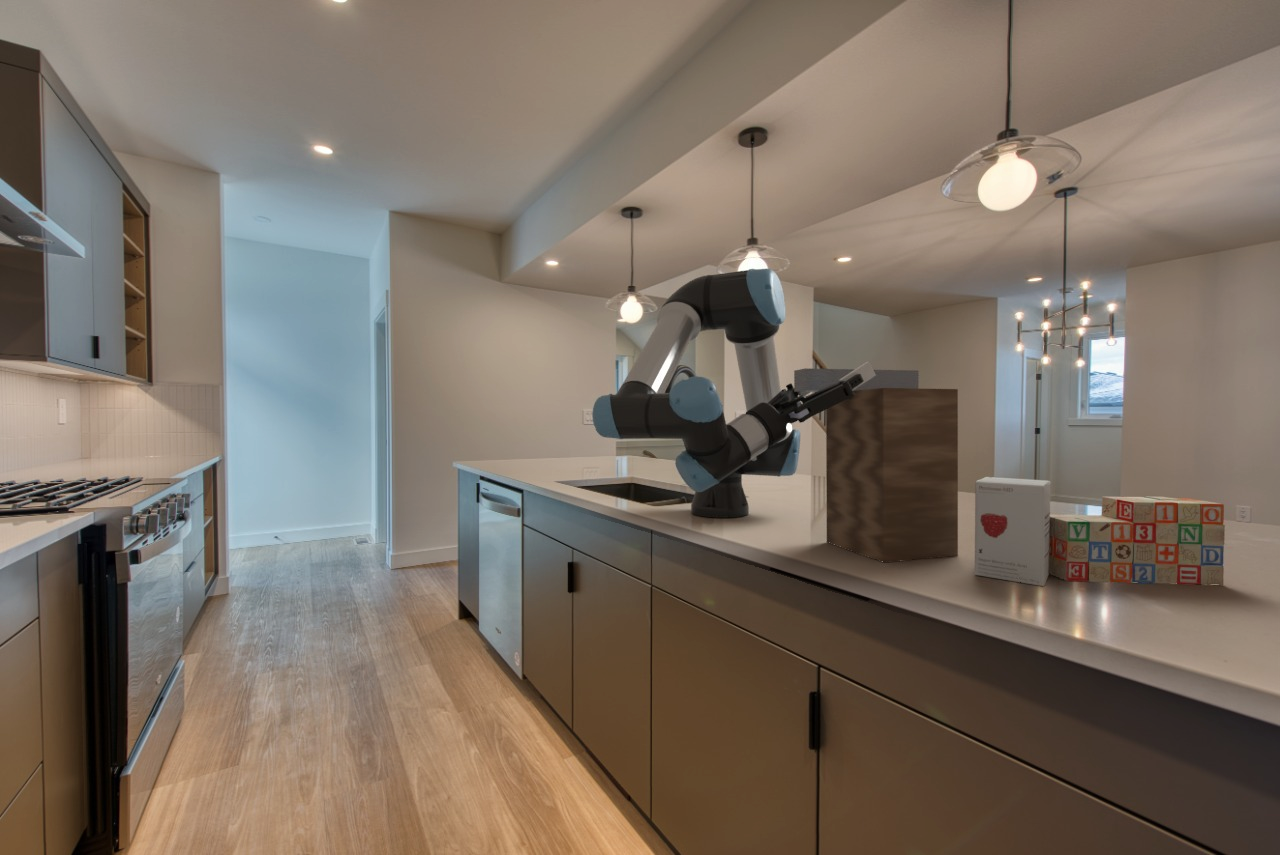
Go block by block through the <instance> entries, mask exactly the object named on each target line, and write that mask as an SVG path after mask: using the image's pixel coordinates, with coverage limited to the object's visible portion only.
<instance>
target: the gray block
mask: <svg viewBox="0 0 1280 855" xmlns="http://www.w3.org/2000/svg"><path fill="white" fill-rule="evenodd" d="M855 369H856V368H854V369H853V368H851V369H848V368H800V369H796V370H793V372H794V374H793V375H794V376H793V377H794V378H793V383H794V384H793V387H794V392H810V393H815V392H817V391H820V390H822V389H824V388H827V387H829V386H831V385H834V384H836V383H838V382H839V380H840V379H841V378H843V377H844V376H846V375H847V374H849V373H850V372H852V371H853V370H855ZM873 370H874V372H875V374H876V376H874V377H873V378H871V379H870V380H868V381H867V382H865V383H864V384H862V385H861V386H859V387H858V388H856V389H855V390H853V391H856V390H867V389H879V388H915V389H919V370H916V369H915V370H913V369H912V370H906V369H905V370H904V369H903V370H902V369H901V370H900V369H873Z"/></svg>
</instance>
